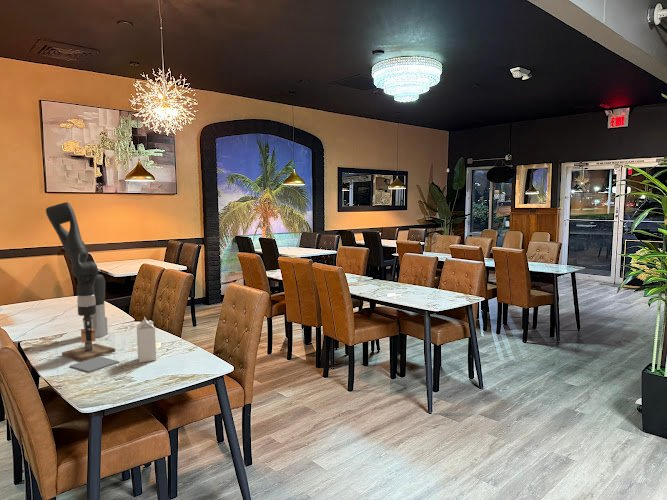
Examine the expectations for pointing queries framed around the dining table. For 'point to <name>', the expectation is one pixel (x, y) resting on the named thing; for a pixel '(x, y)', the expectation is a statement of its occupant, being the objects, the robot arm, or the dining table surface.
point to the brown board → (88, 351)
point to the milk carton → (146, 341)
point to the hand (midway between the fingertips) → (88, 339)
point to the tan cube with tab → (83, 335)
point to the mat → (94, 364)
